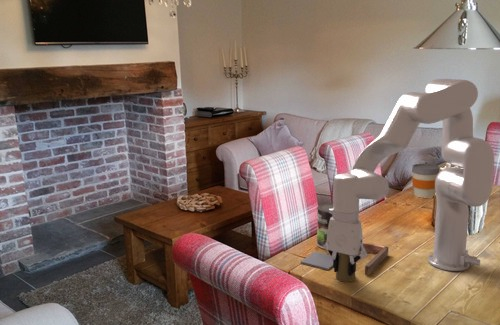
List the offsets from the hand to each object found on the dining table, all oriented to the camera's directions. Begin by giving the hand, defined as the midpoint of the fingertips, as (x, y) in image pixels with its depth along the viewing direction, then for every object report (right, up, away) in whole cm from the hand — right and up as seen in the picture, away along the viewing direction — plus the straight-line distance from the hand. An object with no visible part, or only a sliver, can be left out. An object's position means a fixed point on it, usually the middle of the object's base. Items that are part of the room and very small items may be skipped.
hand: (344, 271), depth 139 cm
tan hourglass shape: (+1, -2, +2) cm, 3 cm away
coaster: (-5, 0, +13) cm, 14 cm away
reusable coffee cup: (+57, +17, +84) cm, 103 cm away
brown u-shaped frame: (+9, +1, +13) cm, 15 cm away
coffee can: (+1, +3, +27) cm, 27 cm away
